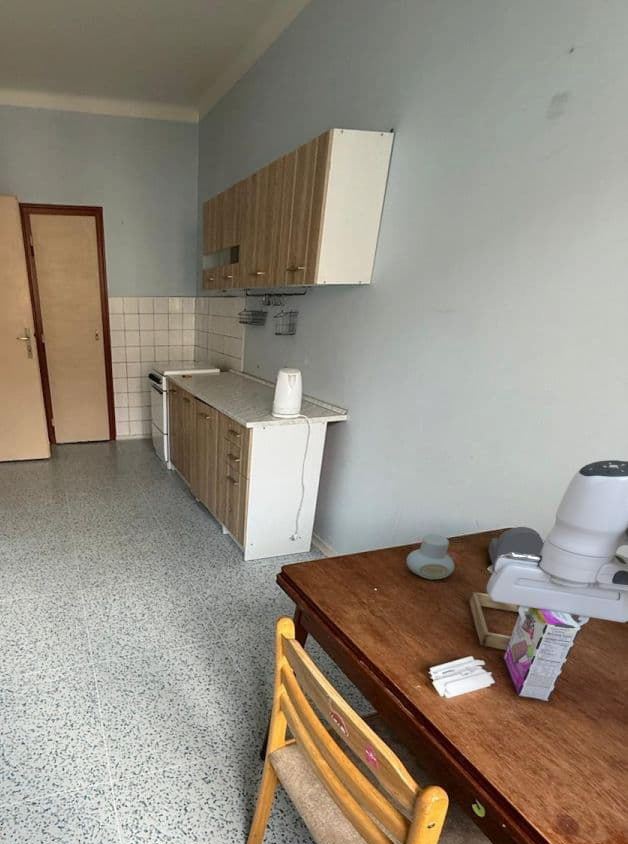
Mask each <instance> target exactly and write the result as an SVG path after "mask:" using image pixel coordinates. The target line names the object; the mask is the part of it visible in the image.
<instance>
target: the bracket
mask: <svg viewBox="0 0 628 844" xmlns="http://www.w3.org/2000/svg"><path fill="white" fill-rule="evenodd" d="M544 542H545V541H543V539H542V537H541V535H540V533H539V532H537V530H535V529H533V528H530V527H528V526H516V527H512V528H509V529H506V530H505V531H504V532H502V533H501V534H500V536H499V537H498V538H497V537H493V538H491V541H490V544H489V547H488V554H489V558H490V561H491V564H492V567H493V568H494V564H495V561H496V559H497V558H498V557H499V556H501V555H503V554H508V553H509V552H517V553H520V554H532V555H540V552H541V550H542V547H543V545H544ZM504 557H508V556H504ZM493 568H492V569H493Z"/></svg>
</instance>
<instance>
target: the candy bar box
mask: <svg viewBox="0 0 628 844" xmlns="http://www.w3.org/2000/svg"><path fill="white" fill-rule="evenodd" d="M524 614H527V615H529V616H530V618H531V620H532V621H531V623H530V624H529V625H530V626H529V627H522V626H518V624H517V619H518V616H519V614H518V615H517V618H516V620H515V621H516V622H515V625H514V627H513V630H512V633H511V634H510V636H511V638H510V641H509V643H508V646H507V649H506V650H505V652H504V654H503V660H504V662H505V664H506V667H507V670H508V672H509V675H510V677H511V680H512V683H513V685H514V687H515V690H516V693H517V695H518V696H519V697H523V698H529V699H534V700H539V701H544V702H545V701H546V702H549V700H550V698H551V695H552V693H553V691H554V689H555V687H556V685H557V682H558V680H559V678H560V675H561V673H562V671H563V669H564V666H565V665H566V663H567V660H568V657H569V656H570V653H571V651H572V648H573V646H574V644H575V642H576V639H577V637H578V635H579V632H580V631H581V629H582V628H581V626H579V625H578V623H577V622H576V620H575V619H574V617H575V616H573V614H568V613H562V612H555V611H549V610H543V609H537V608H531V607H529V609H528V611H524Z"/></svg>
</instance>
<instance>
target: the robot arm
mask: <svg viewBox="0 0 628 844" xmlns="http://www.w3.org/2000/svg"><path fill="white" fill-rule="evenodd" d="M543 542H544V545H543V547H542V550H541V552H540V555H532V554H520V553H517V552H509V553H508V554H503V555H501V556H499V557H498V558H497V559H496V561H495V564H494V568H492V570H493V571H492V574H491V575H490V577H489V580H488V582H487V585H486V587H485V589H486V594H488V595H489V597H490V598H491V600H492V601H495V602H501V603H507V604H513V605H516V607H517V609H518V612H517V613H518V615H519V616H518V615H517V618H518V619H517V618H516V621H517V624H518V626H522V627H529V626H530V625H529V624H530V623H531V621H532V620H531V618H530V616H529V615H527V614H524V611H528V609H529V607H531V608H537V609H543V610H549V611H555V612H562V613H568V614H572V616H573V615H574V616H573V617H574V619H575V620H576V622H577V623H578V625H579V626H580V627H581V626H583V625H585V624H587V623H588V622H589V620H590V618H593V619H598V620H605V621H611V622H616V623H623V624H624V623H627V622H628V557H627V556H624V555H621V554H619V553H617V551H618V550H619V548H620V547H623V546H628V460H627V461H626V460H618V459H616V460H615V459H614V460H613V459H611V460H610V459H609V460H599V461H594V462H591V463H588V464H585V465H583V466H582V467H581V468H580V469H579V470H578V471H577V472H576V473H575V474H574V475H573V477H572V478H571V480H570V482H569V483H568V485H567V486H566V489H565V491H564V493H563V495H562V496H561V500H560V502H559V505H558V506H557V509H556V512H555V523H554V525H553V527H552V528H551V529H550V530H549V531H548V533H547V535H546V537H545V539H544V541H543ZM504 556H508V557H504Z"/></svg>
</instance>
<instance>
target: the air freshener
mask: <svg viewBox="0 0 628 844" xmlns="http://www.w3.org/2000/svg"><path fill="white" fill-rule="evenodd" d="M449 544H450V541H449V540H448V538H446V537H445V536H442V535H438V534H426V535H425V536H423V537H422V541H421V544H420V547H419V548H418V549H415V550H413V551H411V552H409V554H408V555H407V557H406V566H407V568H408V569H409V570H410V571H411V572H412V573H413V574H415V575H417V576H418V577H420V578H423V579H426V580H431V581H432V580H441V579H444V578H447V577H449V576H450V575H451V574H452V573H453V572H454V569H455V563H454V561H453V559H452V558H451V557H450V556H449V555H448V554H447V553H448V548H449Z"/></svg>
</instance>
